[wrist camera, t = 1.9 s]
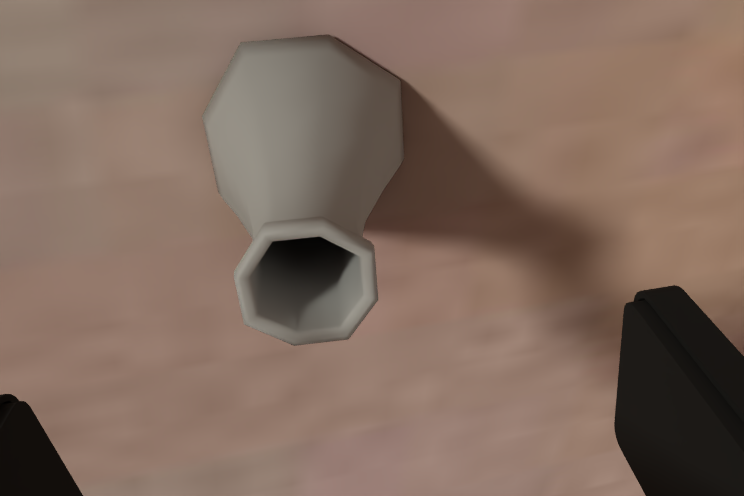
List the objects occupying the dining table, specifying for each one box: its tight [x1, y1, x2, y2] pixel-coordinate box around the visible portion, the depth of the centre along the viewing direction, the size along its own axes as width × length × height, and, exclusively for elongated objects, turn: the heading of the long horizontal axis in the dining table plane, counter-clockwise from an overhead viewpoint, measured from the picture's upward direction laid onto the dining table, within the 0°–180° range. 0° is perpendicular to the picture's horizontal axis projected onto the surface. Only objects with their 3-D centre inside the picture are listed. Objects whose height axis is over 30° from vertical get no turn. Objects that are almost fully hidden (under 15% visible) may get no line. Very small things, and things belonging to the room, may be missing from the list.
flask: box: [202, 35, 404, 346], centre depth 18 cm, size 7×7×10 cm
